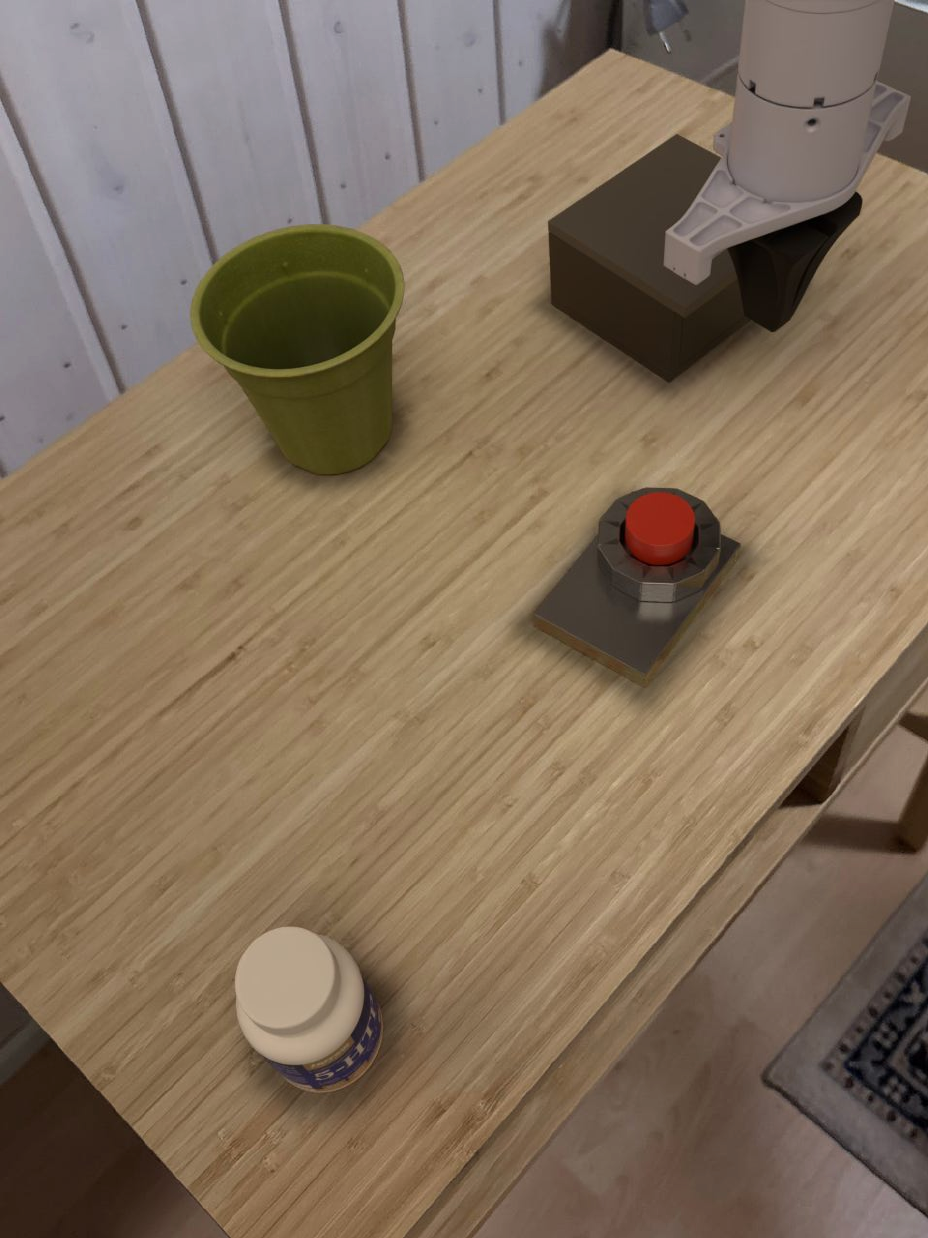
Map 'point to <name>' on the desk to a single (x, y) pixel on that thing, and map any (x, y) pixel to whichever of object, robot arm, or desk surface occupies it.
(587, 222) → the lid
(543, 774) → the desk surface
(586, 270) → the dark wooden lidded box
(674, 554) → the button
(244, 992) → the pill bottle
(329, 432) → the plant pot
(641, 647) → the button block
